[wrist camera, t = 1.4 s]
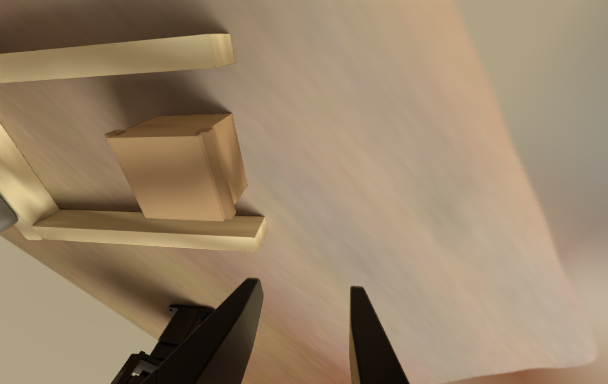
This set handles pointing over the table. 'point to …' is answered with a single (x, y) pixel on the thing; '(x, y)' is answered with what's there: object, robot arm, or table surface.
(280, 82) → the table surface
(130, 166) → the box
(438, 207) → the table surface
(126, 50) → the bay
